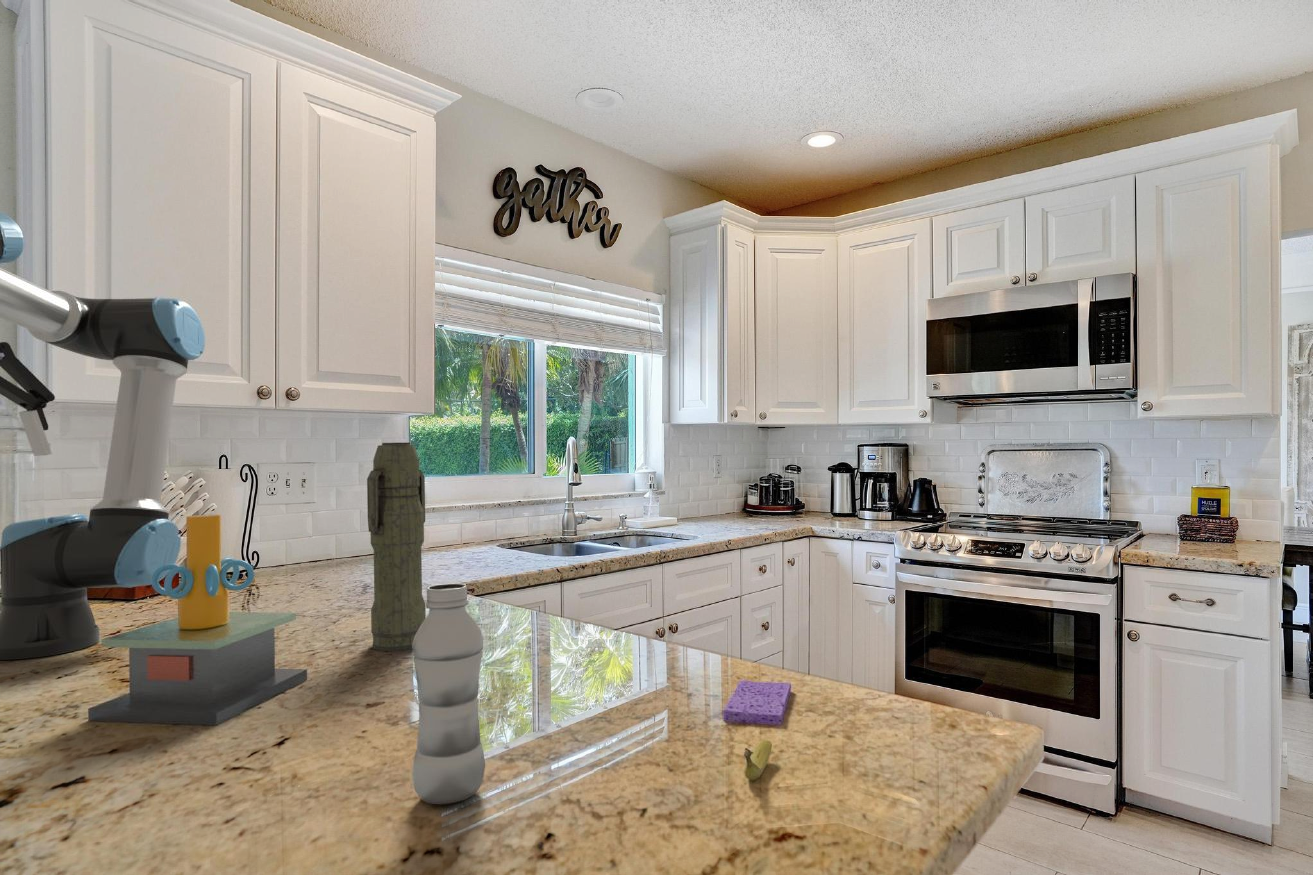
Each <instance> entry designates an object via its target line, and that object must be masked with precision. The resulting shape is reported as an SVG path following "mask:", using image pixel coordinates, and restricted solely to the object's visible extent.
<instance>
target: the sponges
mask: <svg viewBox="0 0 1313 875" xmlns="http://www.w3.org/2000/svg"><path fill="white" fill-rule="evenodd" d="M791 694H792V683H791V682H776V681H775V682H773V681H772V682H771V681H770V682H768V681H767V682H765V681H751V680H741V679H740V680H739V682H738V684H736V687H735V690H734V692H733V693H732V695H731V697H730V698H729V700H728V701H727V704H725V707H724V708H723V717H722V719H723V720H722V721H723V722H728V723H729V722H731V723H744V724H757V725H768V726H770V725H771V726H782V723H783V720H784V717H785V713H786V710H787V708H788V707H787V706H788V703H789V700H790V697H791Z"/></svg>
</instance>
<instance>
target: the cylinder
mask: <svg viewBox="0 0 1313 875" xmlns="http://www.w3.org/2000/svg"><path fill="white" fill-rule="evenodd" d="M221 516H222V515H221V514H196V515H186V517H185V518H186V524H185V525H186V566H184V565H179V564H176V563H175V564H166V565H163V566H161V567H159V568H158V569H157V570H156V571H155V572H154V574H153V576H152V579H151V583H152V584H151V586H152V589H153V590H154V591H155V592H156V593H158V594H160V595H162V596H168V597H169V598H172V599H174V600H176V599H177V615H178V616H177V618H178V627H179V628H180V629H186V630H196V629H206V628H213V627H218V626H221V625H224V624H226V623H228V622H229V612H230V592H229V591H234V592H239V591H242V590H245V589H246V588H248V587H249V586H250V585H251V584H252V582H253V581H254V577H255V569H254V567H253V566H252V565H251V564H250V563H249V562H247V561H246V560H242V559H234V558H232V557H225V558H224V557H223V558H222V546H221V545H222V544H221V543H222V538H221V537H222V530H221V529H222V528H221V527H222V524H221V521H222V518H221ZM240 567H242V568H244V569H245V570H246V571H247V578H246V579H245V581H244V582H243V583H241V584H237V585H236V582H237V580H238V579H239V576H240ZM231 568H232V571H233V572H232V576H231V578H230V579H229V581H228V579H227V572H228V571H229V570H230V569H231ZM166 570H171V571H170V572H169V573H168V574H167V575H166V576H165V577H164V581H163V582H164V586H163V587H162V586H161V585H160V583H159V582H160V581H158V579H159V576H160V574H161V573H162V572H164V571H166ZM176 574H179V576H180V577H181V580H180V583H179V585H178V586H177V587H175V588H172V582H173V578H174V577H175V576H176Z"/></svg>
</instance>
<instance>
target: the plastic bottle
mask: <svg viewBox="0 0 1313 875" xmlns="http://www.w3.org/2000/svg"><path fill="white" fill-rule="evenodd" d="M468 605H469V598H468V587H467V584H466V583H454V582H453V583H452V582H450V583H439V584H433V585H430V586H427V587H426V601H425V609H428V610H429V611H428V614H427V615H426V618H425V620H424V621H423V623H422V624H421V626H420V628H419V629H418V631H417V633H416V635H415V637H414V641H413V644H412V656H413V663H414V670H415V671H414V672H415V676H416V682H417V698H418V702H419V704H418V712H419V713H418V715H419V716H418V728H417V740H416V750H415V752H414V753H415V754H414V759H413V762H412V763H413V764H412V772H411V776H412V781H413V788H414V792H415V793H416V794H417V796H418V797H419V798H420V799H421V800H422V801H423V802H425V803H428V804H433V805H447V804H448V805H449V804H454V803H459V802H462V801H464V800H467V799H468V798H471V797H472V796H473V795H475V794H476V793H477V792H478V790H479V789H480V787H481V785H482V784H483V781H484V775H485V770H486V761H485V754H484V749H483V744H482V741H481V732H480V731H481V730H480V720H479V709H478V708H479V698H478V696H479V686H480V683H479V682H480V673H481V666H482V665H481V664H482V657H483V650H484V640H485V639H484V636H483V632H482V630H481V628H480V626H479V625H478V623H477V622H476V621H475V620H474V618H473V617H472V616H471V615H470V613H468V611H467V608H466V606H468Z"/></svg>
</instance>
